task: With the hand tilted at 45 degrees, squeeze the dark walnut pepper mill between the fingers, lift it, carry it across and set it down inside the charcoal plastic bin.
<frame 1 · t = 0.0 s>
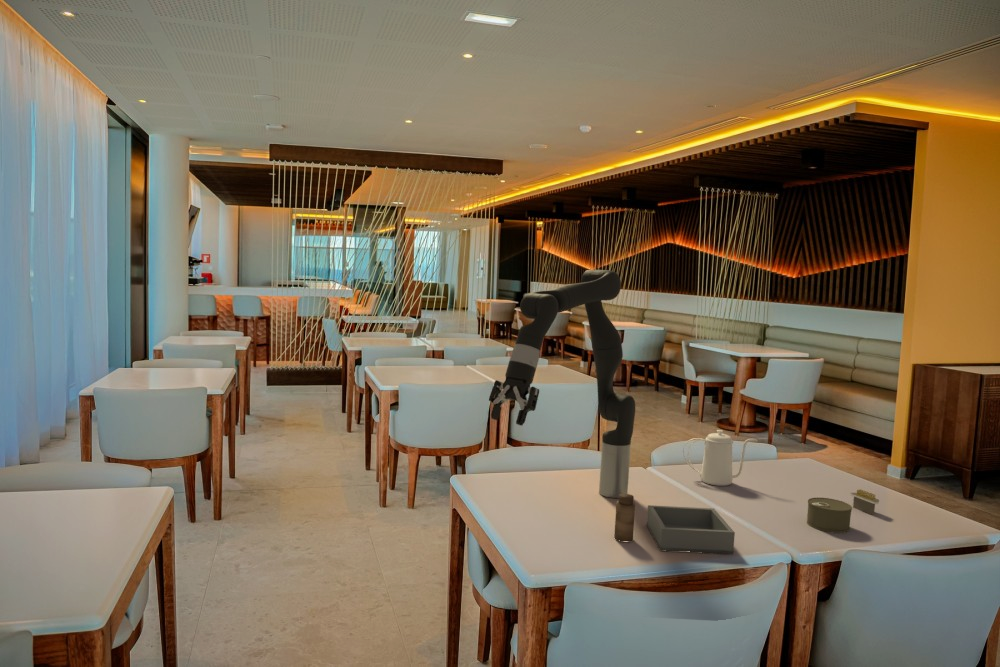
hand: (506, 422, 191), 31 cm above the table, tool tilted 20°, fingers open, 8 cm apart
pepper mill: (623, 538, 197), on the table
serving bin: (687, 539, 199), on the table
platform: (865, 513, 231), on the table
coffeepot: (717, 482, 256), on the table
can: (827, 526, 215), on the table
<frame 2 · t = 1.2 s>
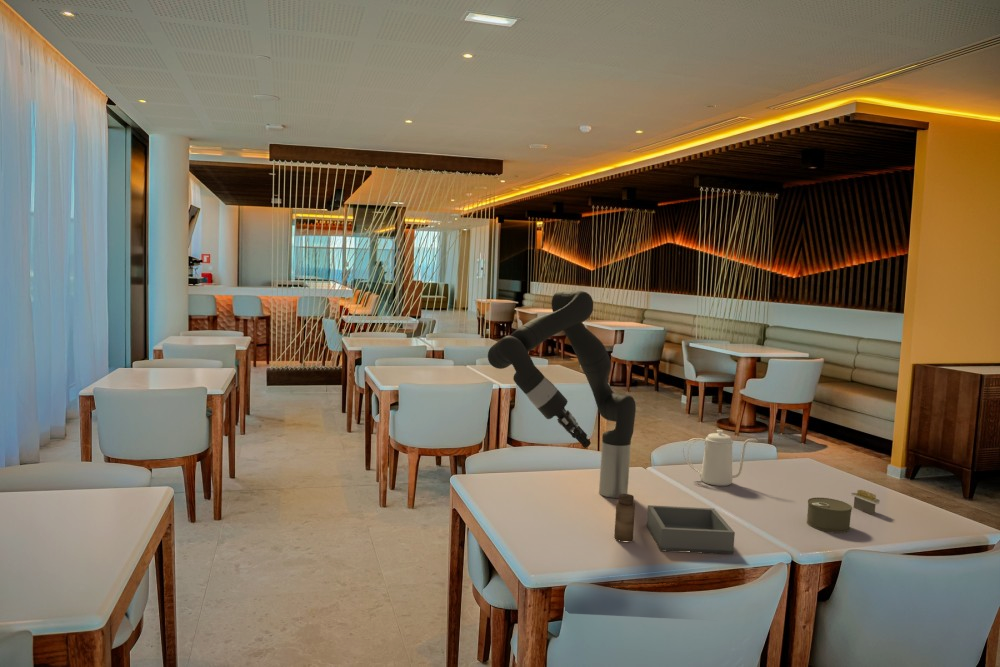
hand: (586, 441, 194), 26 cm above the table, tool tilted 45°, fingers open, 8 cm apart
nothing on the table moved.
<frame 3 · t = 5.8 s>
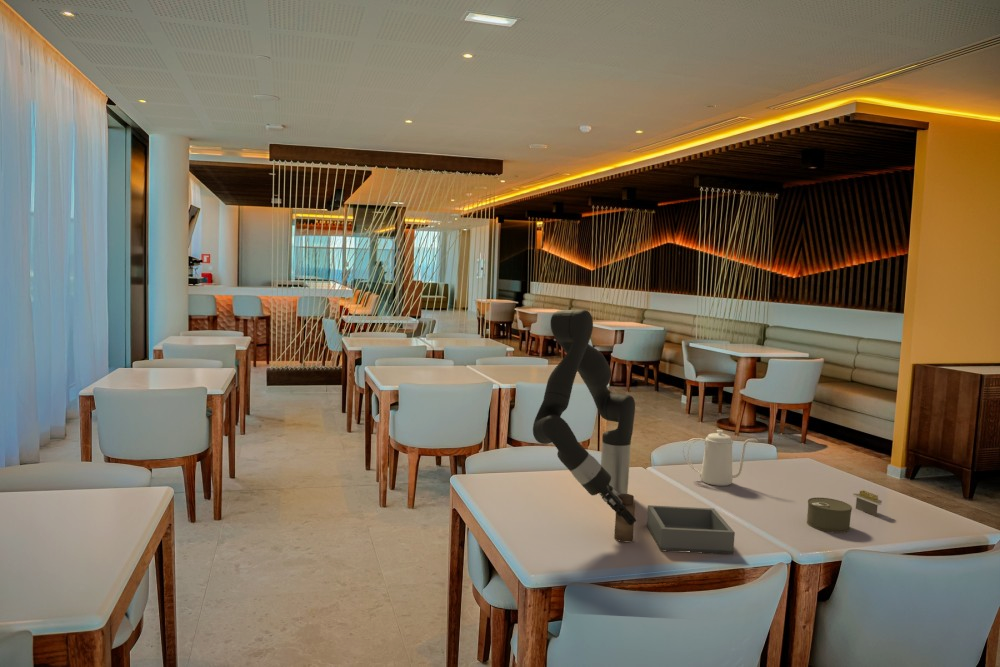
hand: (631, 518, 196), 6 cm above the table, tool tilted 45°, fingers closed on pepper mill, 5 cm apart
pepper mill: (623, 538, 197), on the table, touching gripper
when the fingers open (9 cm above the table, at t = 11.3 s): pepper mill drops 2 cm, resting on serving bin.
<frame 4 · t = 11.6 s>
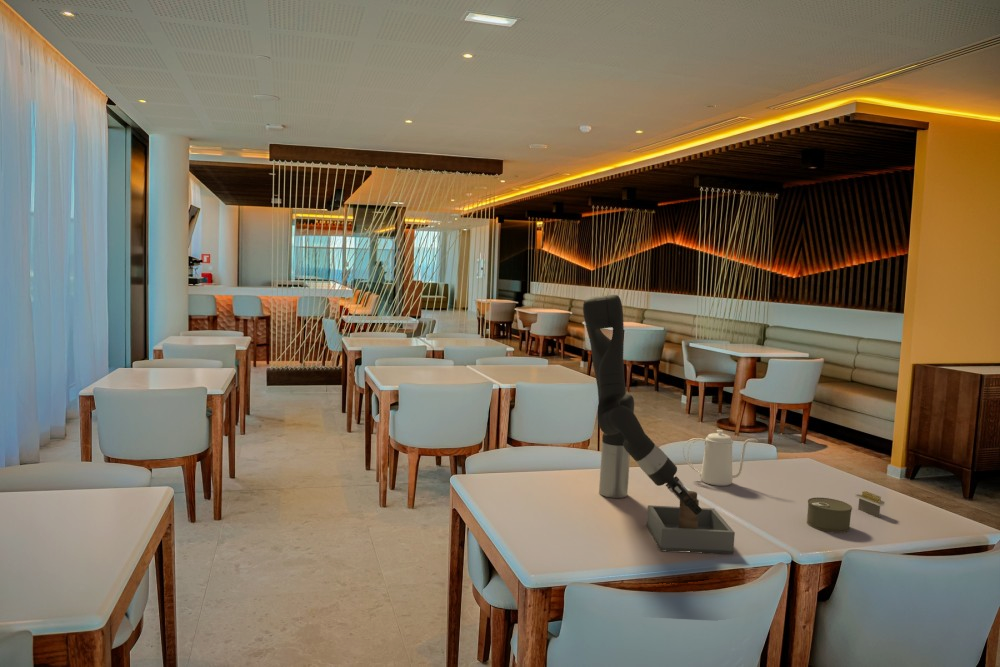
hand: (695, 507, 198), 9 cm above the table, tool tilted 45°, fingers open, 8 cm apart
pepper mill: (687, 535, 198), point 1 cm above the table, touching serving bin
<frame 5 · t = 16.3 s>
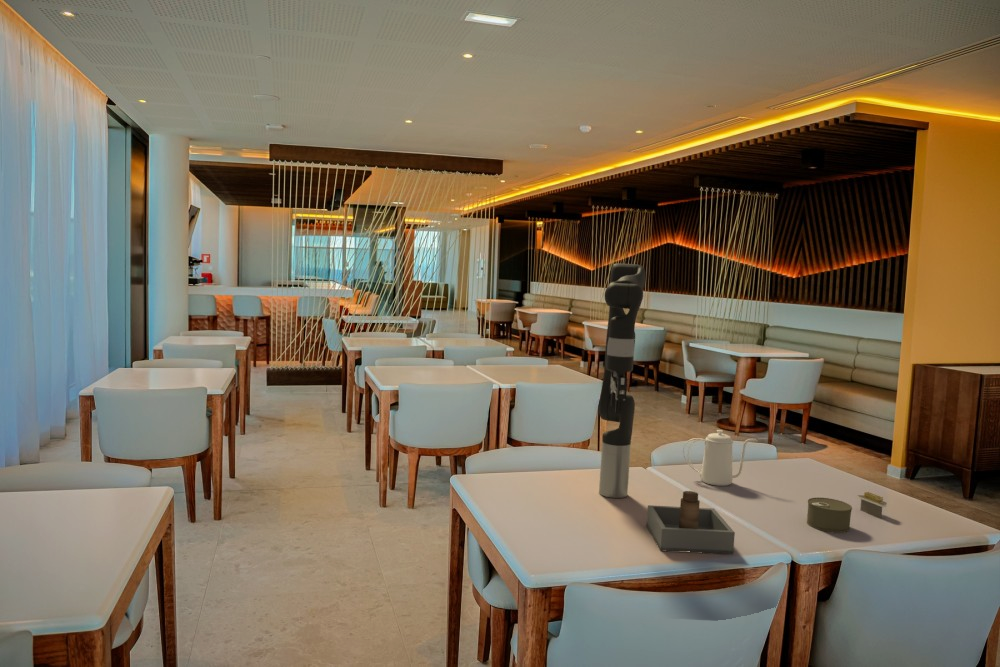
hand: (616, 410, 206), 33 cm above the table, tool pointing down, fingers open, 8 cm apart
at the end: pepper mill inside the target area on the serving bin (0.1 cm from its centre), point 1.0 cm above the serving bin's base; pepper mill tilted 0°; the gripper is holding nothing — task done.
